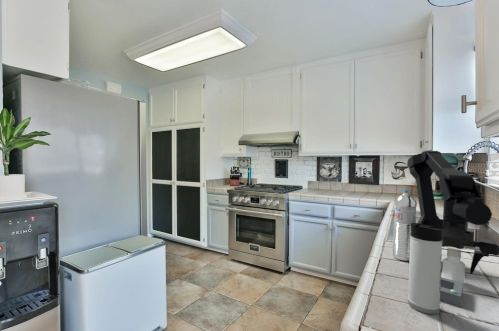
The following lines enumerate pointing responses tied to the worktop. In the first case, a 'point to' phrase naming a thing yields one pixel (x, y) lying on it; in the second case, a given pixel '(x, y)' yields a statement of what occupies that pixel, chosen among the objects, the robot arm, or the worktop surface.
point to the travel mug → (425, 268)
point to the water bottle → (403, 225)
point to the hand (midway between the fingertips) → (453, 269)
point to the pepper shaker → (453, 266)
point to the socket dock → (451, 291)
